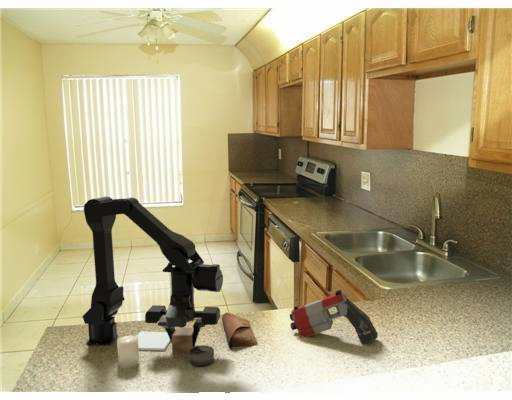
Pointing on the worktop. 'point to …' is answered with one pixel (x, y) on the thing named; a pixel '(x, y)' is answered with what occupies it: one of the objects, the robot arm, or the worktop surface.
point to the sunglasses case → (238, 331)
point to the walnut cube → (182, 340)
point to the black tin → (201, 356)
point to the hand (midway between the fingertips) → (184, 345)
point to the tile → (153, 340)
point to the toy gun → (331, 317)
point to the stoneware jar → (128, 351)
